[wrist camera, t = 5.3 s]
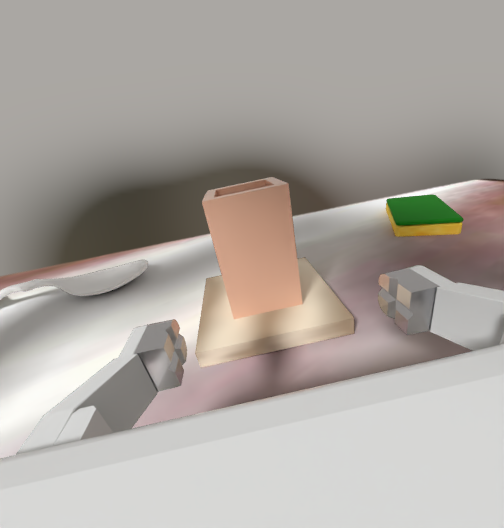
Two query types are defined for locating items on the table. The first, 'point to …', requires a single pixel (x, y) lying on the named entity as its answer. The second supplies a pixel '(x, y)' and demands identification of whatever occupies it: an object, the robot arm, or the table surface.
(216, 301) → the stand
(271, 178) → the sleeve
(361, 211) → the table surface
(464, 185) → the table surface
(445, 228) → the dish sponge
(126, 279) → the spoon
